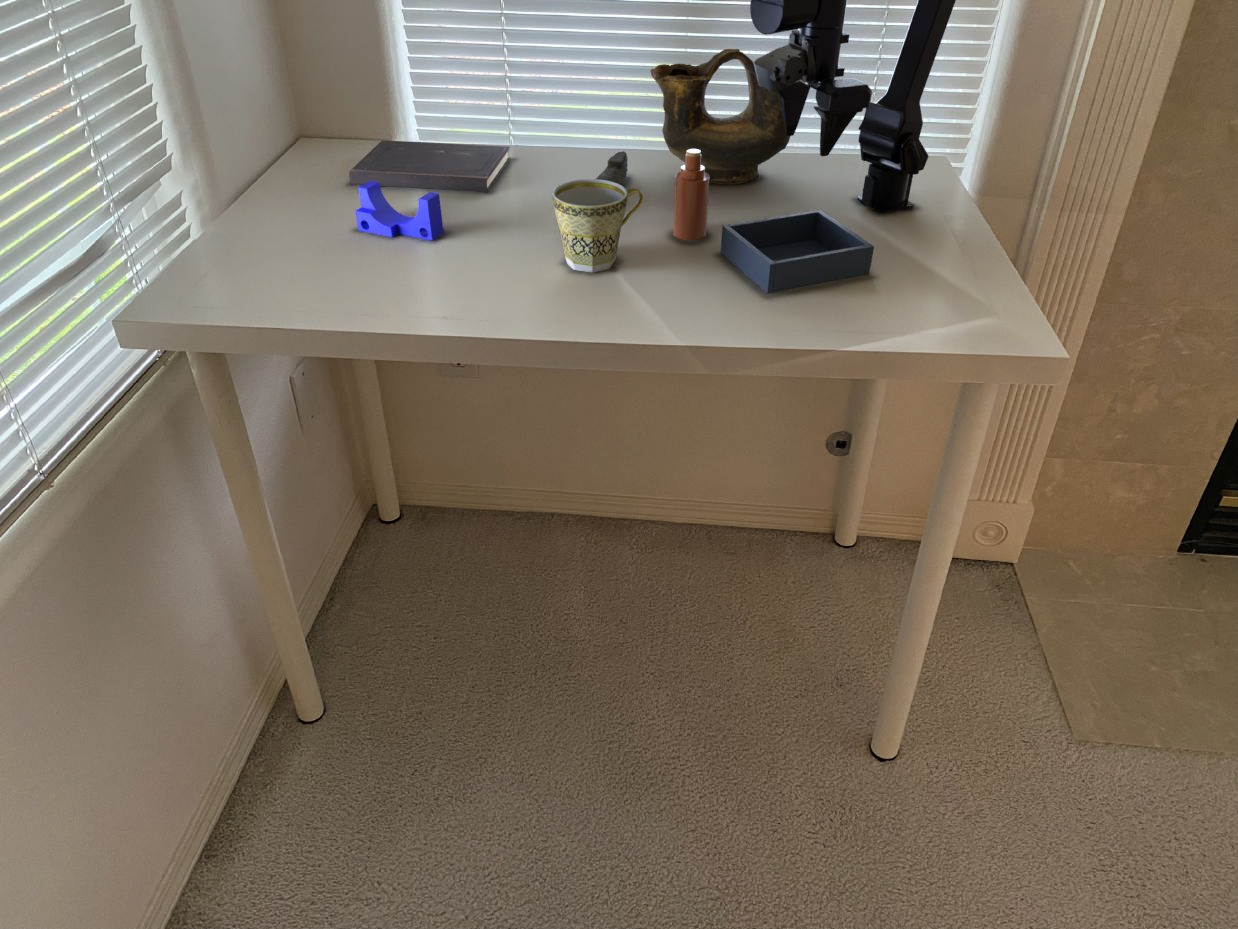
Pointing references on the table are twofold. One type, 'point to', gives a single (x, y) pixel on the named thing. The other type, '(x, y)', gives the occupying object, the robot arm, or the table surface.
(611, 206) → the ceramic cup
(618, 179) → the hand tool
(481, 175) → the hardcover book
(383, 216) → the blue mounting bracket
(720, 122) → the pottery vessel
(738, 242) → the bin
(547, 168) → the table surface
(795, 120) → the robot arm
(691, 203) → the bottle
